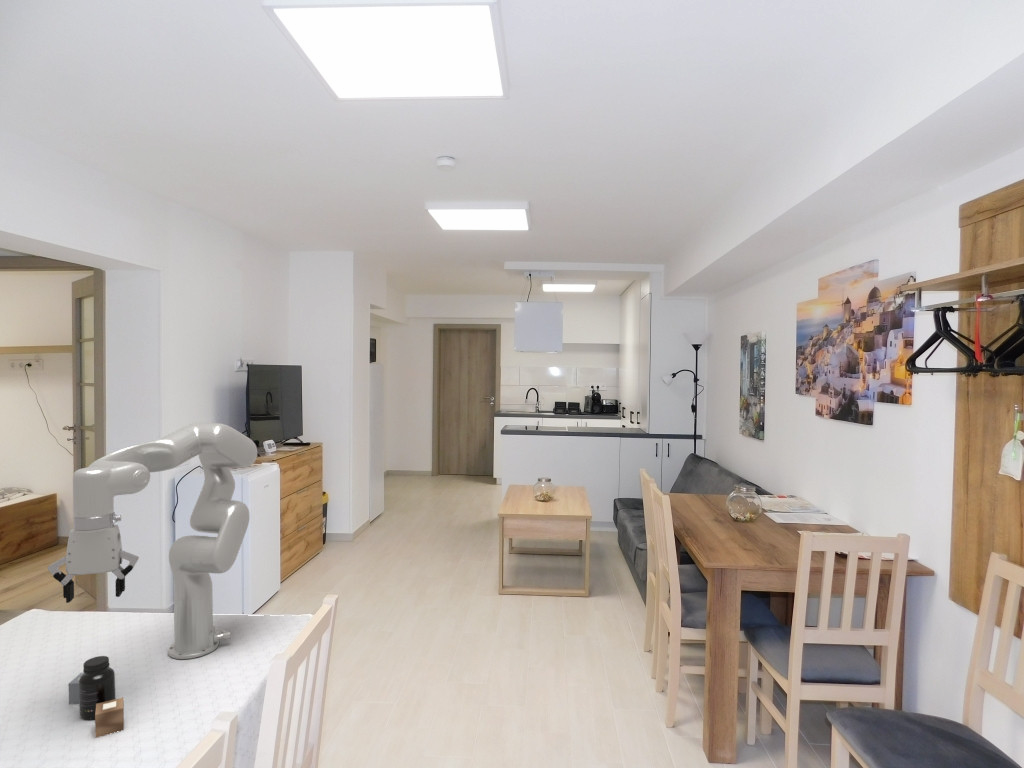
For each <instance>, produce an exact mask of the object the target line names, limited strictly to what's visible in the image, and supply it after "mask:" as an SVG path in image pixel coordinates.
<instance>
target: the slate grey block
mask: <svg viewBox="0 0 1024 768" xmlns="http://www.w3.org/2000/svg"><path fill="white" fill-rule="evenodd" d="M83 674H84V672H80V673H78V675H76V676H75V677H74V678H73V679H72V680H71V681H70V682H69V683H68V685H67V686H68V705H79V679H80V677H81V676H82V675H83Z"/></svg>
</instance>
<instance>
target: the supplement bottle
mask: <svg viewBox="0 0 1024 768" xmlns="http://www.w3.org/2000/svg"><path fill="white" fill-rule="evenodd" d="M82 669H83V670H82V673H84V674H83V675H82V676H81V677H80V679H79V704H78V706H79V716H80V718H81V719H83V720H85V721H87V720H88V721H92V720H93V721H94V720H95V712H96V704H98V703H102V702H106V701H110V700H114V699H117V698H116V697H117V696H116V672H115V670H114V669H113V668H112V667H111V666H110V659H109V657H108V656H107V655H99V656H94V657H91V658H89V659H87V660H86V661H84V662H83V668H82Z"/></svg>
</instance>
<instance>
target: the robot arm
mask: <svg viewBox="0 0 1024 768" xmlns="http://www.w3.org/2000/svg"><path fill="white" fill-rule="evenodd" d="M196 456H198V459H199V461H200V463H201V466H202V467H201V468H202V469H203V475H204V481H203V485H202V488H201V491H200V492H199V493H200V494H198V498H197V499H196V502H195V505H194V508H193V509H192V512H191V515H190V519H189V525H190V527H191V529H192V530H194V531H196V532H199V533H203V534H204V533H205V534H206V533H207V534H216V536H208V535H207V536H206V535H194V534H193V535H185V536H181V537H179V538H177V539H175V541H174V542H173V543H172V544H171V546H170V548H169V551H168V561H169V566H170V570H171V575H172V581H173V614H174V615H173V621H174V623H173V626H174V628H173V631H174V635H173V636H174V642H173V643H172V644H171V645H170V646H169V647H168V649H167V653H168V654H167V655H168V656H169V657H171V658H173V659H176V660H188V659H189V660H190V659H194V658H195V659H196V658H200V657H203V656H206V655H208V654H210V653H212V652H213V651H215V650H216V649H217V648H218V647H219V646H220V641H221V640H224V641H225V640H230V639H231V631H227V629H221V630H218V629H216V626H215V625H214V616H213V615H214V614H213V611H214V609H213V607H214V605H213V604H214V603H213V580H212V577H211V574H223V573H226V572H228V571H229V570H230V569H231V568H232V566H233V565H234V564H235V562H236V560H237V557H238V554H239V551H240V549H241V546H242V544H243V541H244V539H245V535H246V533H247V529H248V528H249V523H250V509H249V508H248V505H247V504H246V503H244V502H243V501H240V500H233V499H232V498H233V495H234V492H235V490H236V482H235V481H236V480H235V478H234V476H233V473H232V472H231V470H230V468H235V469H236V468H239V469H243V468H244V469H245V468H249V467H250V466H251V465H253V464H254V463H255V461H256V460H257V458H258V448H257V445H256V443H255V442H254V441H253V440H252V439H251V438H249V437H248V436H246V435H245V434H243V433H242V432H240V431H238V430H237V429H235V428H233V427H232V426H230V425H228V424H224V423H220V422H218V423H217V422H215V423H214V422H213V423H212V422H194V423H193V422H192V423H189V424H188V425H185V426H182V427H181V428H178V429H177V430H175V431H173V432H171V433H168V434H166V435H164V436H162V437H160V438H157V439H156V440H151V441H148V442H144V443H141V444H140V443H139V444H137V445H136V444H135V445H132V446H128V447H125V448H122V449H119V450H116V451H113V452H111V453H108V454H107V455H104V456H102V457H100V458H98V459H96V460H95V461H93V462H92V463H91V464H89V465H88V466H87V467H82V468H79V469H77V470H76V471H75V472H74V473H73V475H72V505H73V507H72V508H73V509H72V510H73V511H72V512H73V513H72V515H73V516H72V517H73V521H72V522H73V528H71V529H70V531H69V534H68V540H67V546H66V554H65V556H63V557H62V558H60V559H58V560H56V561H54V562H53V563H51V564H50V565H48V567H47V570H48V572H50V574H51V575H52V577H53V578H54V580H56V581H58V582H59V583H60V585H61V586H62V587H63V589H62V592H63V595H62V596H63V599H65V603H66V604H69V603H71V602H72V601H73V599H74V598H75V581H74V580H73V577H75V576H81V575H91V574H92V575H93V574H101V573H110V572H112V573H113V575H114V576H116V577H117V578H116V579H115V597H116V598H119V597H121V595H122V594H123V592H125V590H126V576H127V575H128V574H129V573H130V572H132V570H133V569H134V567H135V566H136V564H137V563H138V560H139V558H140V557H139V556H138V555H135V554H133V553H130V552H127V551H125V550H123V545H122V537H121V531H120V528H119V525H118V524H115V523H118V522H121V521H122V515H119V514H118V515H117V514H116V513H115V510H114V509H115V507H114V503H115V501H114V500H115V499H114V497H116V496H126V495H134V494H136V493H139V492H141V491H143V490H144V489H145V488H146V487H147V486H148V485H149V483H150V481H151V473H158V472H164V471H169V470H172V469H175V468H177V467H179V466H181V465H182V464H184V463H186V462H188V461H189V460H191V459H193V458H195V457H196ZM123 560H126V561H128V562H129V563H128V564H127V566H126V567H125V568H124V567H123V566H122V564H123ZM64 564H65V572H66V574H65V573H64V572H63V571H61V570H60V567H61V566H62V565H64Z"/></svg>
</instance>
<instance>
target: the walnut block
mask: <svg viewBox="0 0 1024 768" xmlns="http://www.w3.org/2000/svg"><path fill="white" fill-rule="evenodd" d="M124 702H125V701H124V697H119V698H116V699H114V700H110V701H106V702H102V703H98V704H96V712H95V719H94V720H95V721H94V722H95V723H94V724H95V725H94V726H95V729H94V731H95V738H100V736H101V737H104V736H108V735H111V734H110V733H112V734H115V733H118V732H117V731H119V732H122V731H121V730H123V731H124V725H125V724H124V723H125V717H124V716H125V715H124V714H125V711H124V706H125V705H124ZM114 732H115V733H114ZM107 734H108V735H107Z"/></svg>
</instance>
